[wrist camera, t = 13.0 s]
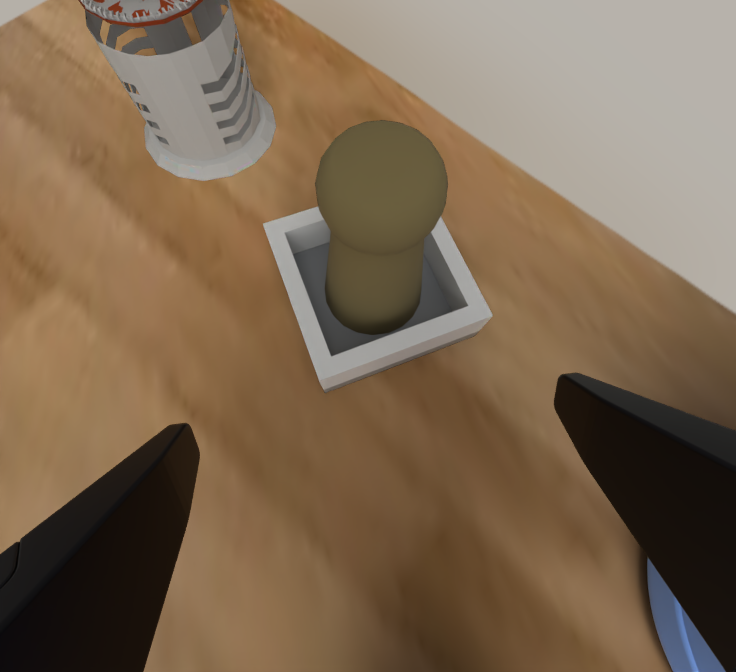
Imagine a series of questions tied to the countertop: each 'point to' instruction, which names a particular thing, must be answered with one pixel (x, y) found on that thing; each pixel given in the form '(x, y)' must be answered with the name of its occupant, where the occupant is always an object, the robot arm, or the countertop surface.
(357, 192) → the cork
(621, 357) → the countertop surface
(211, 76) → the french press
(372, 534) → the countertop surface
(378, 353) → the grey square open box
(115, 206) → the countertop surface
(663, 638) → the water jug
